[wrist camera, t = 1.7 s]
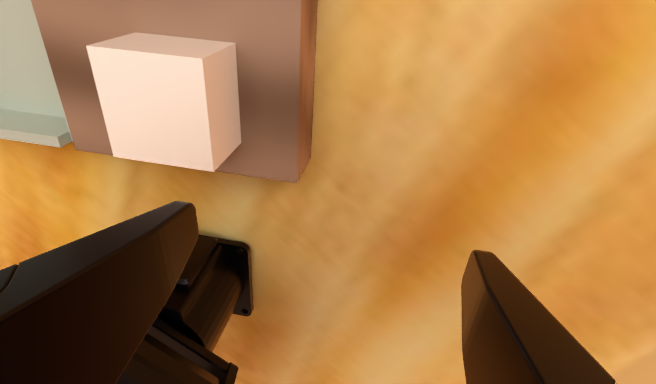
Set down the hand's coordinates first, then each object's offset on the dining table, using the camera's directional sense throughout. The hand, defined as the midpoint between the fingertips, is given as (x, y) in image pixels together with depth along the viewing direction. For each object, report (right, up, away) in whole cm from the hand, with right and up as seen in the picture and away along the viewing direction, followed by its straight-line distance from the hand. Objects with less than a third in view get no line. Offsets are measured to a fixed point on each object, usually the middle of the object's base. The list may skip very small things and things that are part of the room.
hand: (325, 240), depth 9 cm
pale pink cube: (-6, +6, +9) cm, 12 cm away
